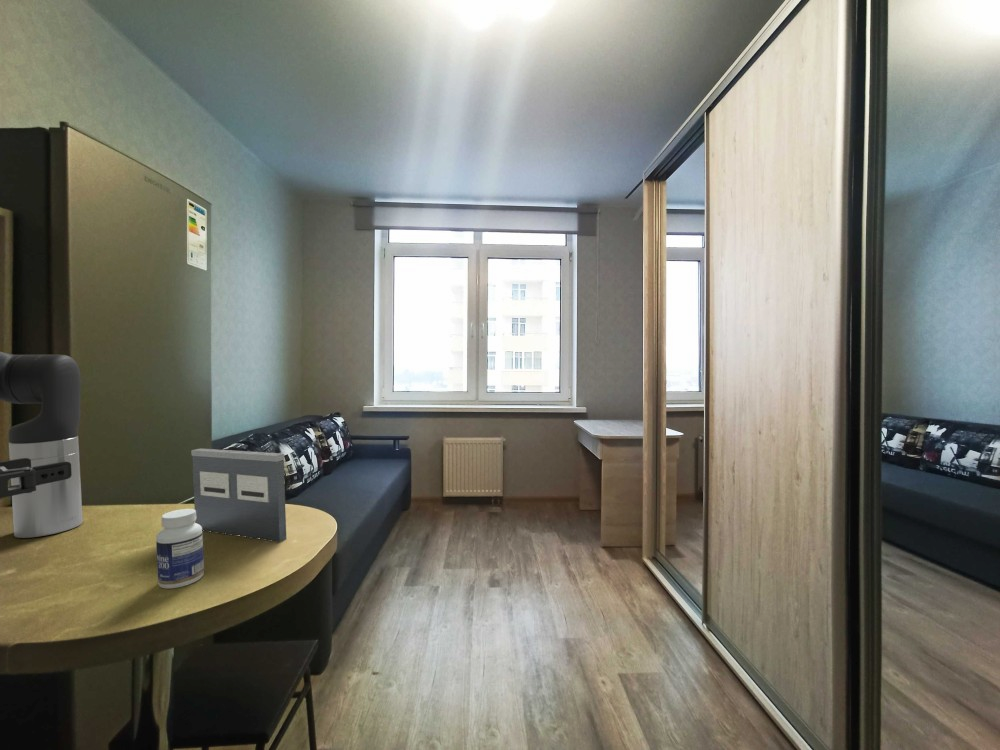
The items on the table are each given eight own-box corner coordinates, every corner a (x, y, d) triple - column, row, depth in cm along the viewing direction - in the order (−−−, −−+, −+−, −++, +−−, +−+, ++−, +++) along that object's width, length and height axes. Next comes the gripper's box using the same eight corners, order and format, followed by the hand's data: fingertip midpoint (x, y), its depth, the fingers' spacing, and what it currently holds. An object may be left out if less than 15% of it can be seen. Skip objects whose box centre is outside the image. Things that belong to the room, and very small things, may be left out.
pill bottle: (154, 581, 64) (151, 513, 64) (198, 568, 68) (196, 504, 68) (162, 594, 60) (159, 522, 60) (208, 579, 64) (206, 512, 64)
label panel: (194, 530, 83) (190, 450, 83) (203, 526, 85) (200, 448, 85) (278, 542, 77) (275, 456, 76) (287, 538, 79) (284, 453, 78)
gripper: (-131, 472, 41) (82, 441, 56) (-200, 463, 46) (15, 436, 61) (-125, 553, 41) (85, 500, 57) (-194, 536, 46) (18, 491, 61)
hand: (49, 467), depth 59 cm, fingers open, 8 cm apart
